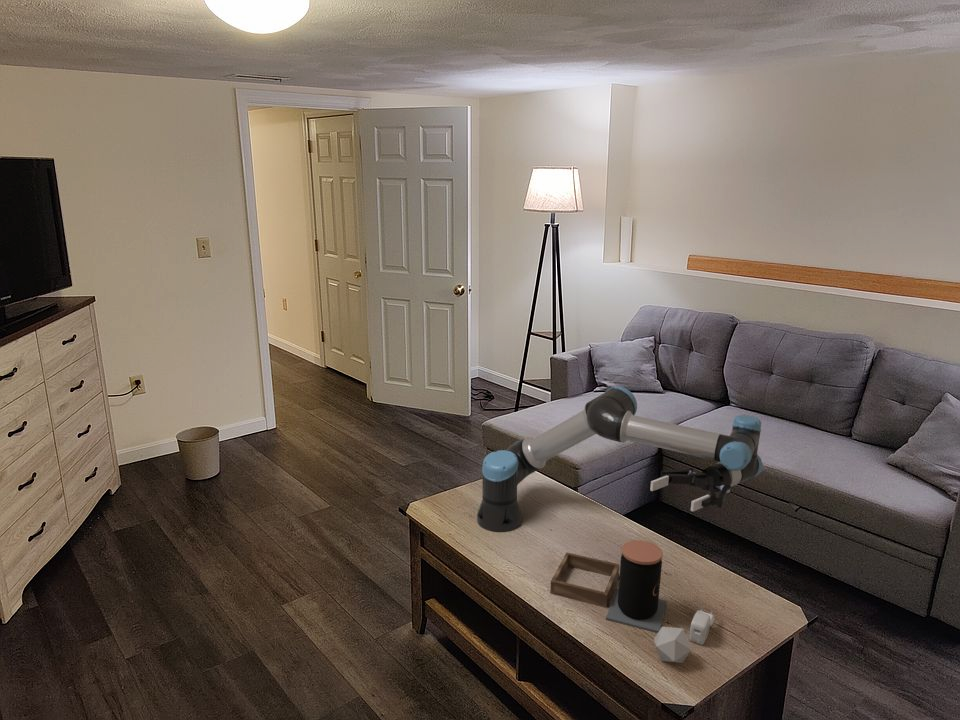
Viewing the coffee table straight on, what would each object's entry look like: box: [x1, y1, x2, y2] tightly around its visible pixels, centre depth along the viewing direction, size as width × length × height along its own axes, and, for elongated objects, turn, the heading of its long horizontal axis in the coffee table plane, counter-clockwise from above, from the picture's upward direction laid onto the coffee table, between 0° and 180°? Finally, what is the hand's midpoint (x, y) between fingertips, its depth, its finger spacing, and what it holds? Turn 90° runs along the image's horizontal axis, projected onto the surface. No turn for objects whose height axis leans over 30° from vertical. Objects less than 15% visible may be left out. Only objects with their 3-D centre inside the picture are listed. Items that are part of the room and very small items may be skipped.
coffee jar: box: [618, 539, 664, 620], centre depth 182 cm, size 11×11×18 cm
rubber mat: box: [605, 588, 668, 634], centre depth 185 cm, size 14×14×1 cm
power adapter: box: [689, 606, 716, 646], centre depth 176 cm, size 11×5×6 cm, turn 148°
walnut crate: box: [549, 552, 620, 608], centre depth 195 cm, size 16×16×4 cm
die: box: [653, 626, 692, 664], centre depth 166 cm, size 8×9×10 cm
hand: (671, 496), depth 181 cm, fingers open, 13 cm apart
